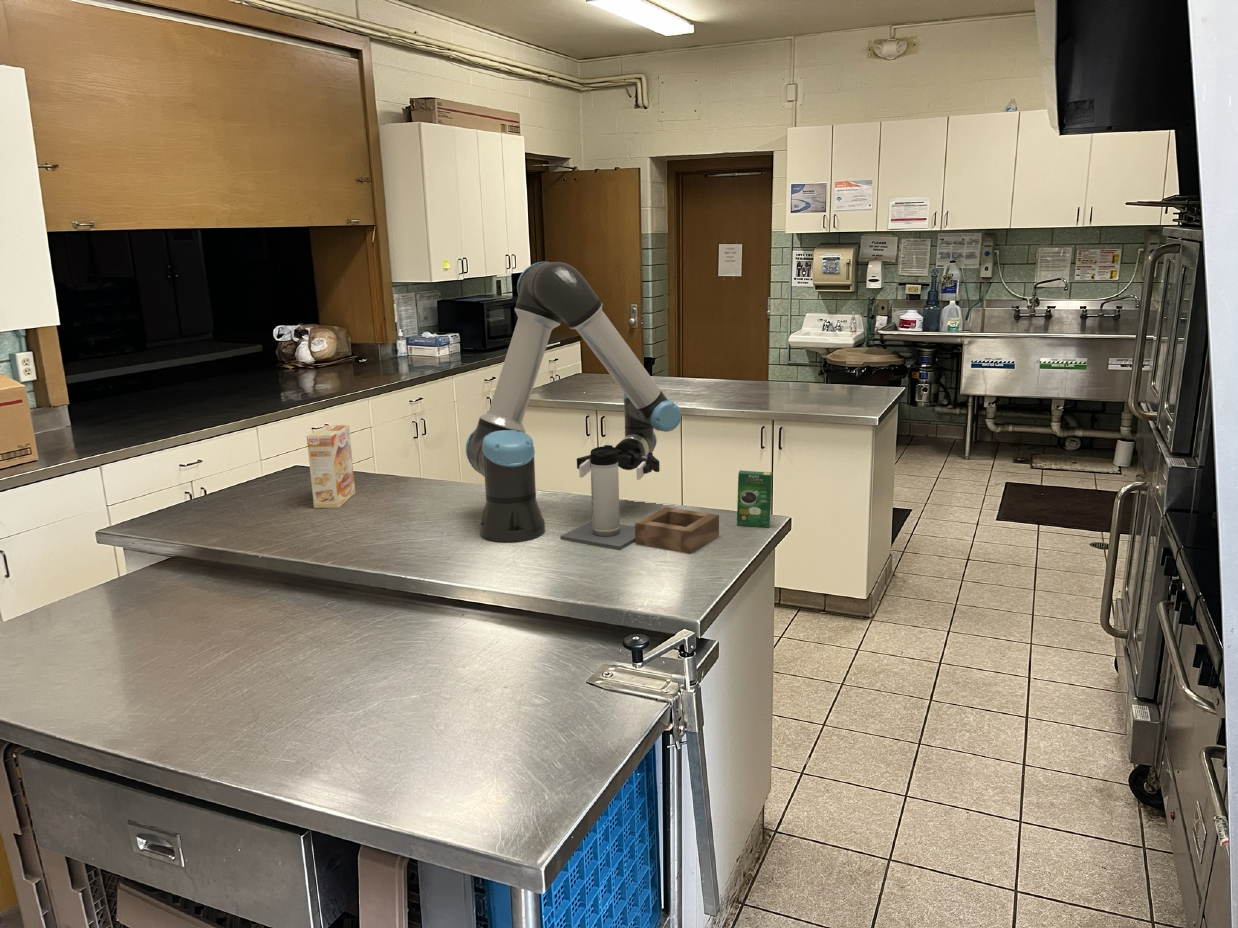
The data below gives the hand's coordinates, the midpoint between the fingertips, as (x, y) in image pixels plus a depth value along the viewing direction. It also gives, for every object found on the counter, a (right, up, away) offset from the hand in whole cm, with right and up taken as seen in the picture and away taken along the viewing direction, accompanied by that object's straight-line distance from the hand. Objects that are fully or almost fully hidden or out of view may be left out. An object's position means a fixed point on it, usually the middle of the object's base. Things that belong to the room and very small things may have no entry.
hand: (609, 472), depth 202 cm
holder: (+16, -15, -2) cm, 22 cm away
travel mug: (-1, -14, +2) cm, 14 cm away
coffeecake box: (-75, -8, +37) cm, 84 cm away
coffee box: (+34, -13, +7) cm, 37 cm away
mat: (-1, -15, +2) cm, 15 cm away
